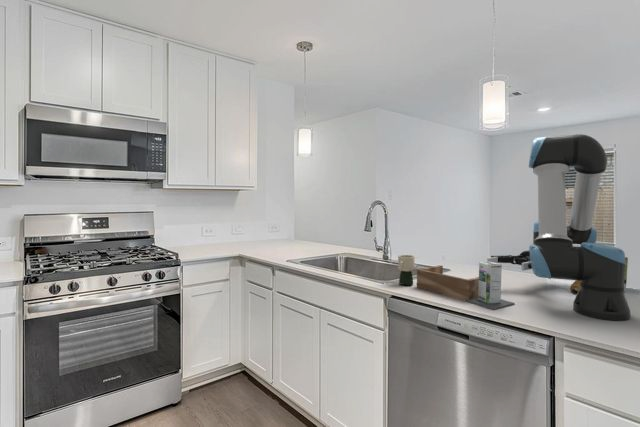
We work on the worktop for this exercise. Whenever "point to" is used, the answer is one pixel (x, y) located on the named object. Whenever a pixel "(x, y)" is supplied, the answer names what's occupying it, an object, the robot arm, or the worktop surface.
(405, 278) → the character mug
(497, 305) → the mat
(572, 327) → the worktop surface
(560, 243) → the robot arm
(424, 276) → the wooden crate
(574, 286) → the bread roll
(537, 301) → the worktop surface
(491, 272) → the syrup box
